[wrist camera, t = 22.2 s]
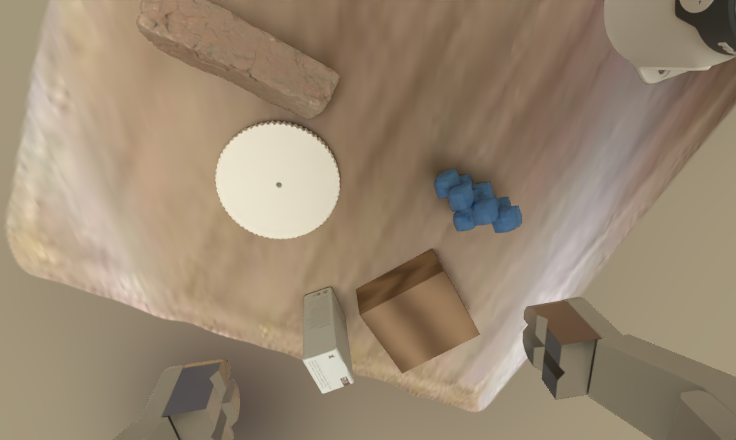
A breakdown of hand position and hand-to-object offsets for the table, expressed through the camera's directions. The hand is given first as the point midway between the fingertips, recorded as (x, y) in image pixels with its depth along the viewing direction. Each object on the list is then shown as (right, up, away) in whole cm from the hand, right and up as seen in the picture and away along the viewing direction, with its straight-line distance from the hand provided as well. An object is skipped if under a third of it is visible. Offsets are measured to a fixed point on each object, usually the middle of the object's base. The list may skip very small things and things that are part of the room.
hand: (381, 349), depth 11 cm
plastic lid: (-11, +9, +36) cm, 39 cm away
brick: (-12, +21, +30) cm, 39 cm away
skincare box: (-6, -9, +44) cm, 46 cm away
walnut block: (+6, -8, +46) cm, 47 cm away
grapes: (+11, +8, +39) cm, 41 cm away
